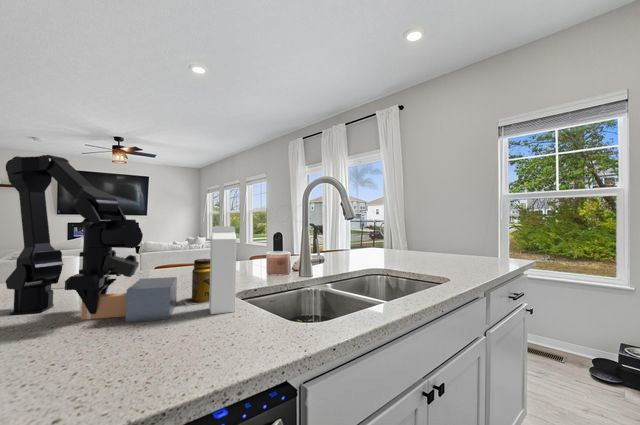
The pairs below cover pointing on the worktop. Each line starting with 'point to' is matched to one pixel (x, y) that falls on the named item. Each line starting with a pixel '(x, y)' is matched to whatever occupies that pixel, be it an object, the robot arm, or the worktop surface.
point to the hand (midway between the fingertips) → (95, 311)
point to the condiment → (200, 283)
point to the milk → (222, 270)
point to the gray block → (151, 299)
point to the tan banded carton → (107, 307)
